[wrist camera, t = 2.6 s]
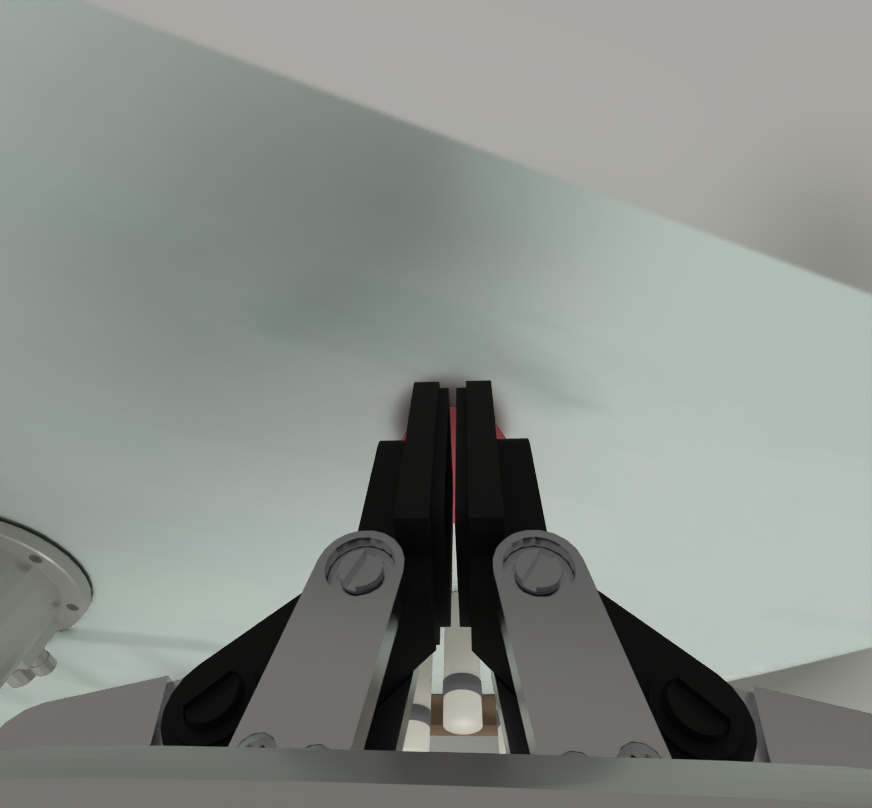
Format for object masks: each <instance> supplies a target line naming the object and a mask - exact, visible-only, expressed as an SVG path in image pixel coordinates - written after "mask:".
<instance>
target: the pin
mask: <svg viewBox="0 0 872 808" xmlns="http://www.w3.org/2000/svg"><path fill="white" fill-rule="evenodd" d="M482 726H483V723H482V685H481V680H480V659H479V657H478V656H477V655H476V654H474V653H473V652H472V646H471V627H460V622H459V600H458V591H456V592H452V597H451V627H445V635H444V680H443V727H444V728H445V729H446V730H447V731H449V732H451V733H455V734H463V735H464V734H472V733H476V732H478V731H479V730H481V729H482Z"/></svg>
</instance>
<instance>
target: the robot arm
mask: <svg viewBox="0 0 872 808" xmlns="http://www.w3.org/2000/svg"><path fill="white" fill-rule="evenodd" d="M455 535H456V556H457V578H458V600H459V622H460V627H471V646H472V652H473V653H474V654H476V655H477V656H478V657H479V658H480V659H481V660H482V661H483V662H484V663H485V664H486V665H487V666H488V667H489V668H490V669H491V679H492V684H493V689H494V694H495V699H496V704H497V709H498V715H499V720H500V725H501V730H502V735H503V740H504V745H505V750H506V754H491V753H454V752H452V753H451V752H418V751H403V746H404V741H405V737H406V732H407V728H408V723H409V718H410V714H411V709H412V705H413V700H414V695H415V691H416V686H417V682H418V677H419V665H421V664H422V663H423V662H424V661H425V660H426V659H427V658H428V657H429V656H430V655H431V654H432V653H433V652H435V651H436V645H440V627H451V597H452V542H453V465H452V443H451V421H450V399H449V388H440V384H439V382H415V383H414V387H413V394H412V400H411V406H410V413H409V419H408V425H407V432H406V438H405V440H397V441H380V442H379V444H378V447H377V451H376V456H375V460H374V464H373V469H372V473H371V477H370V482H369V486H368V490H367V495H366V499H365V503H364V508H363V512H362V516H361V521H360V525H359V529H358V531H357V532H353V533H349V534H346V535H344V536H343V537H341V538H339V539H337V540H335V541H334V542H333V543H331V544H330V545H329V546H328V547H327V548H326V549H325V550H324V551H323V553H322V554H321V556H320V557H319V559H318V561H317V563H316V565H315V567H314V569H313V571H312V573H311V575H310V577H309V579H308V581H307V584H306V586H305V588H304V590H303V592H302V593H301V594H300V595H298V596H297V597H296V598H294V599H293V600H291V601H290V602H288V603H287V604H285V605H284V606H283V607H281V608H280V609H278V610H277V611H275V612H274V613H273V614H271V615H270V616H268V617H267V618H265V619H264V620H263V621H261V622H260V623H258V624H257V625H255V626H254V627H253V628H251V629H250V630H248V631H247V632H245V633H244V634H243V635H241V636H240V637H238V638H237V639H235V640H234V641H232V642H231V643H230V644H228V645H227V646H225V647H224V648H222V649H221V650H220V651H218V652H217V653H215V654H214V655H212V656H211V657H210V658H208V659H207V660H205V661H204V662H202V663H201V664H200V665H198V666H197V667H196V668H195V669H193V670H192V671H191V672H190V673H189V674H188V675H186V676H185V677H184V678H183V679H181V680H176V681H172V680H171V679H170V677H169V676H165V677H160V678H156V679H151V680H147V681H142V682H137V683H133V684H128V685H124V686H119V687H115V688H110V689H106V690H101V691H96V692H92V693H87V694H83V695H78V696H74V697H69V698H64V699H60V700H55V701H51V702H46V703H42V704H40V705H37V706H34V707H32V708H29V709H26V710H24V711H23V712H21V713H20V714H18V715H17V716H15V717H14V718H12V719H11V720H9V721H7V722H6V723H5V724H4V725H3V726H2V727H1V728H0V808H872V714H870V713H866V712H862V711H858V710H853V709H849V708H845V707H841V706H836V705H832V704H827V703H824V702H820V701H815V700H811V699H807V698H803V697H798V696H794V695H790V694H786V693H781V692H777V691H773V690H769V689H764V688H760V687H756V686H752V687H751V689H750V690H749V692H748V691H744V690H740V689H735V688H733V687H731V686H730V685H729V684H728V683H727V682H726V681H725V680H723V679H722V678H721V677H720V676H719V675H718V674H716V673H715V672H714V671H712V670H711V669H709V668H708V667H706V666H705V665H704V664H702V663H701V662H699V661H698V660H696V659H695V658H694V657H692V656H691V655H689V654H688V653H687V652H685V651H684V650H682V649H681V648H679V647H678V646H677V645H675V644H674V643H672V642H671V641H669V640H668V639H667V638H665V637H664V636H662V635H661V634H659V633H658V632H657V631H655V630H654V629H652V628H651V627H649V626H648V625H647V624H645V623H644V622H642V621H641V620H639V619H638V618H637V617H635V616H634V615H632V614H631V613H629V612H628V611H627V610H625V609H624V608H622V607H621V606H619V605H618V604H617V603H615V602H614V601H612V600H611V599H609V598H608V597H607V596H605V595H604V594H602V593H601V592H599V591H598V590H597V589H596V587H595V584H594V582H593V580H592V578H591V575H590V573H589V571H588V569H587V566H586V564H585V562H584V560H583V558H582V556H581V555H580V553H579V552H578V550H577V549H576V548H575V547H574V546H573V545H572V544H571V543H569V542H568V541H567V540H566V539H564V538H562V537H560V536H558V535H556V534H554V533H550V532H547V530H546V525H545V520H544V514H543V509H542V504H541V499H540V494H539V489H538V483H537V478H536V473H535V468H534V463H533V457H532V452H531V447H530V443H529V440H528V438H521V439H497V436H496V426H495V416H494V407H493V397H492V387H491V380H490V381H466V388H457V390H456V460H455ZM91 598H92V597H91V588H90V586H89V583H88V581H87V578H86V577H85V575H84V574H83V572H82V571H81V570H80V568H79V567H78V566H77V565H76V564H75V563H74V562H73V561H72V560H71V559H70V558H69V557H68V556H67V555H66V554H64V553H63V552H62V551H60V550H59V549H58V548H57V547H55V546H54V545H52V544H50V543H49V542H47V541H45V540H44V539H42V538H40V537H39V536H36V535H34V534H32V533H30V532H28V531H26V530H24V529H22V528H19V527H16V526H13V525H11V524H8V523H5V522H2V521H0V688H1V687H2V686H3V684H4V683H5V682H7V683H8V684H9V685H10V686H11V687H13V688H19V687H22V686H24V685H26V684H27V683H29V682H30V681H31V680H32V679H33V678H34V677H35V676H36V675H38V676H40V677H41V676H45V675H47V674H49V673H50V672H52V671H53V670H54V668H55V667H56V665H57V661H56V659H55V658H54V657H53V656H52V655H51V654H50V653H49V652H48V651H46V650H45V649H44V648H45V646H46V644H47V643H48V642H49V640H50V639H51V637H52V636H53V635H54V633H55V632H56V631H60V630H64V629H66V628H68V627H70V626H72V625H74V624H75V623H76V622H78V621H79V620H80V619H81V617H82V616H83V614H84V613H85V611H86V610H87V609H88V607H89V605H90V602H91Z"/></svg>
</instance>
